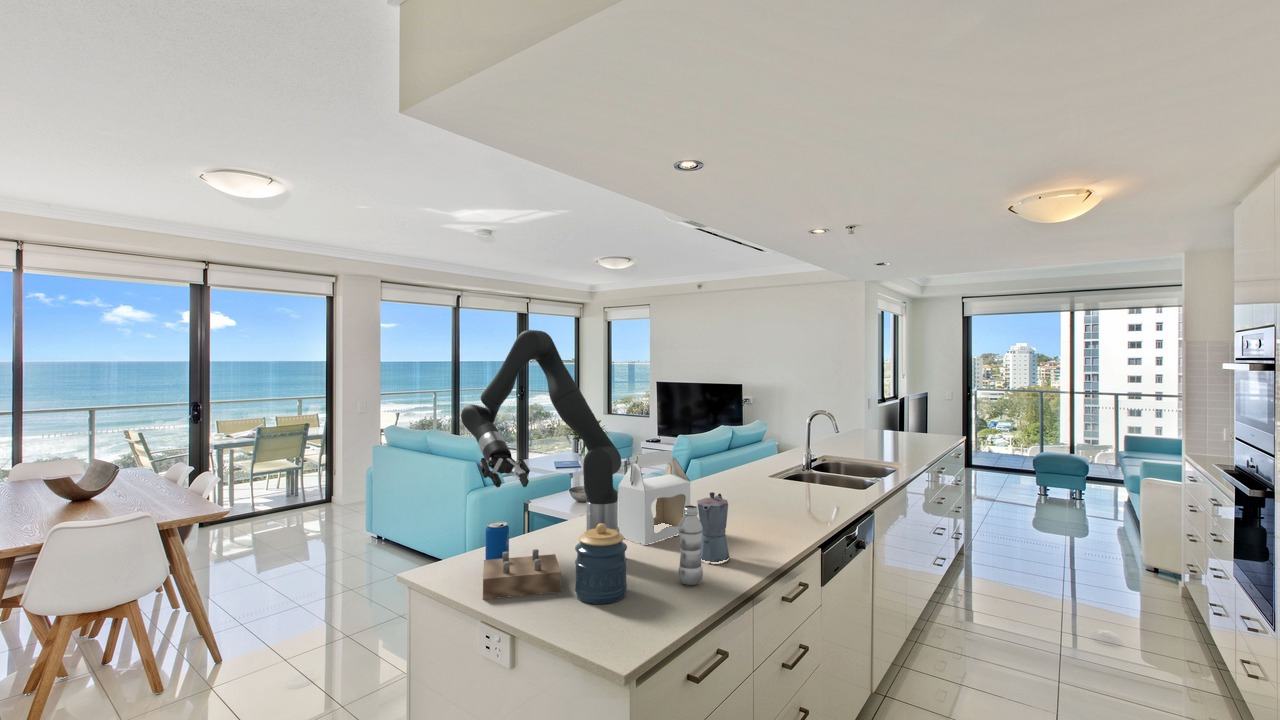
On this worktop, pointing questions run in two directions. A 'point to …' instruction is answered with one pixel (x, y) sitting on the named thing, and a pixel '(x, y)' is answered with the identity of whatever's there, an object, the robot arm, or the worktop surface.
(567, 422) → the robot arm
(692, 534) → the plastic bottle
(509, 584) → the peg board
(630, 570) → the worktop surface
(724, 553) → the moka pot
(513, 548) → the worktop surface
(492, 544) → the beverage can
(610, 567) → the canister
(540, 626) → the worktop surface
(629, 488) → the gable box
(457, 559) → the worktop surface
